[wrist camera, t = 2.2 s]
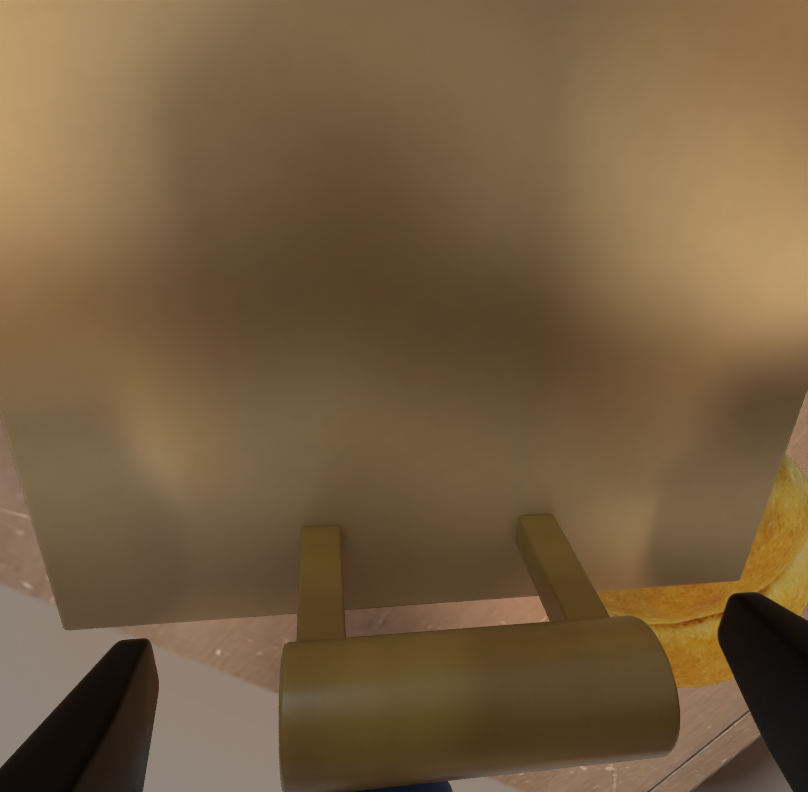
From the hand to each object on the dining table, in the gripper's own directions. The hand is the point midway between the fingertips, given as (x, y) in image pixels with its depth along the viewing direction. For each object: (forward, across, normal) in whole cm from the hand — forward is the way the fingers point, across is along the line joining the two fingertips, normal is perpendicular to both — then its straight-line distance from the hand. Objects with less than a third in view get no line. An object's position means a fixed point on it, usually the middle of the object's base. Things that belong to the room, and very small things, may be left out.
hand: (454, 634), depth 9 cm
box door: (+3, 0, -4) cm, 5 cm away
